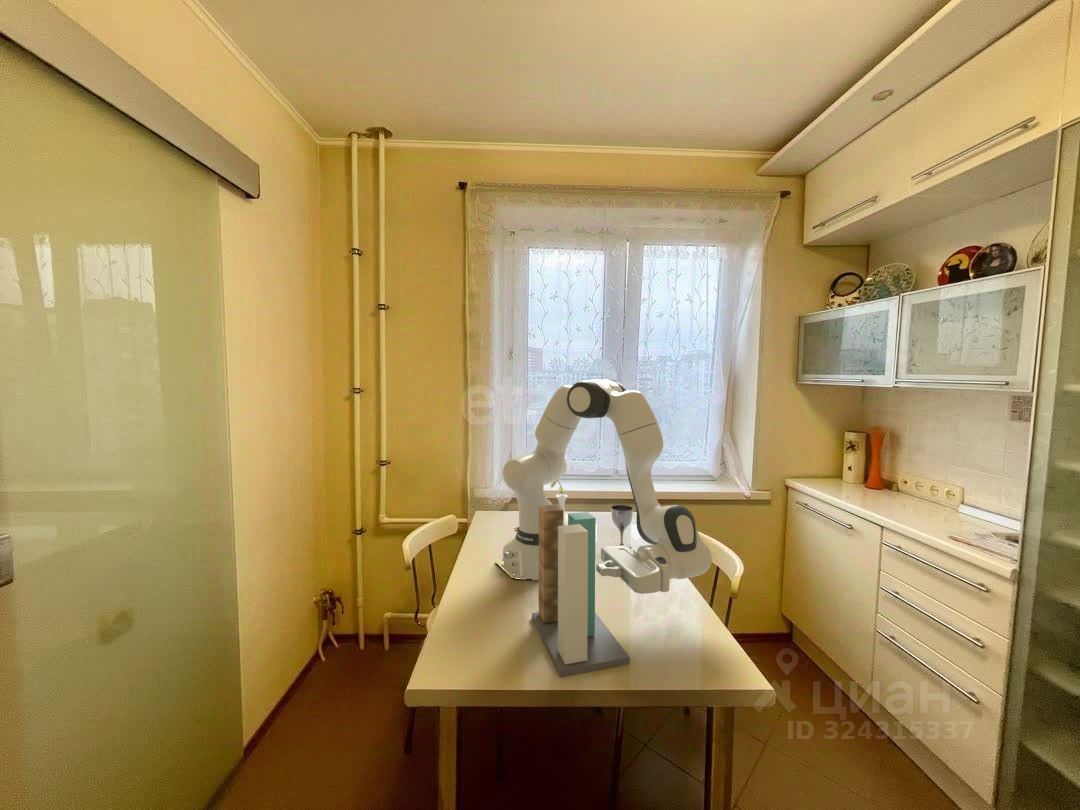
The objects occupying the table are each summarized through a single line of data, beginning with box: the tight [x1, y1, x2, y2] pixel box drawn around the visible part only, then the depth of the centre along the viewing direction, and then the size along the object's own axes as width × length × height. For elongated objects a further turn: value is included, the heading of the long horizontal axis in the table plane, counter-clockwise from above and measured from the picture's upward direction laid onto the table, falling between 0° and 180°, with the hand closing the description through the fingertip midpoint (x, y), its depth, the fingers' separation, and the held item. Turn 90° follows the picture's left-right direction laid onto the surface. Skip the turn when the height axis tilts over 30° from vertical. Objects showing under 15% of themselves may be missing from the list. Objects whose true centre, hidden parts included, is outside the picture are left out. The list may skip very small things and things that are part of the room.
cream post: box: [558, 524, 588, 665], centre depth 91 cm, size 5×5×28 cm
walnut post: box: [538, 504, 565, 623], centre depth 107 cm, size 5×5×28 cm
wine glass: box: [610, 504, 634, 545], centre depth 159 cm, size 8×8×15 cm
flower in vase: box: [550, 479, 568, 525], centre depth 179 cm, size 13×11×25 cm
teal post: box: [567, 511, 597, 637], centre depth 101 cm, size 5×5×28 cm
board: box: [531, 611, 631, 678], centre depth 101 cm, size 16×23×2 cm
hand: (598, 570), depth 102 cm, fingers closed
